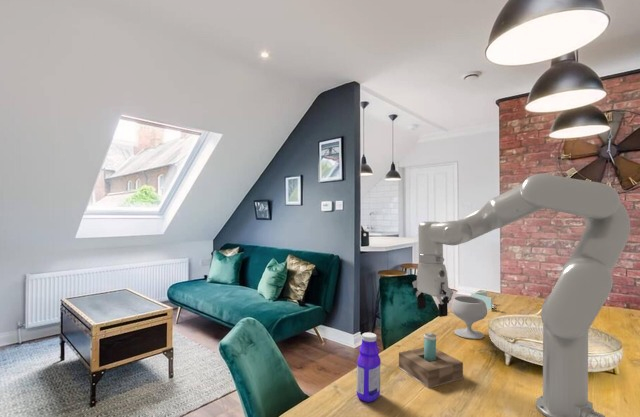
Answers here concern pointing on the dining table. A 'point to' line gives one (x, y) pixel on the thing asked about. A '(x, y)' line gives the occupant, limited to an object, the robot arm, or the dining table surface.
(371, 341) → the bottle
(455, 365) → the socket block
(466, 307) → the chalice
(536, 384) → the dining table surface
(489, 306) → the l-shaped corner panel
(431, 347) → the peg
